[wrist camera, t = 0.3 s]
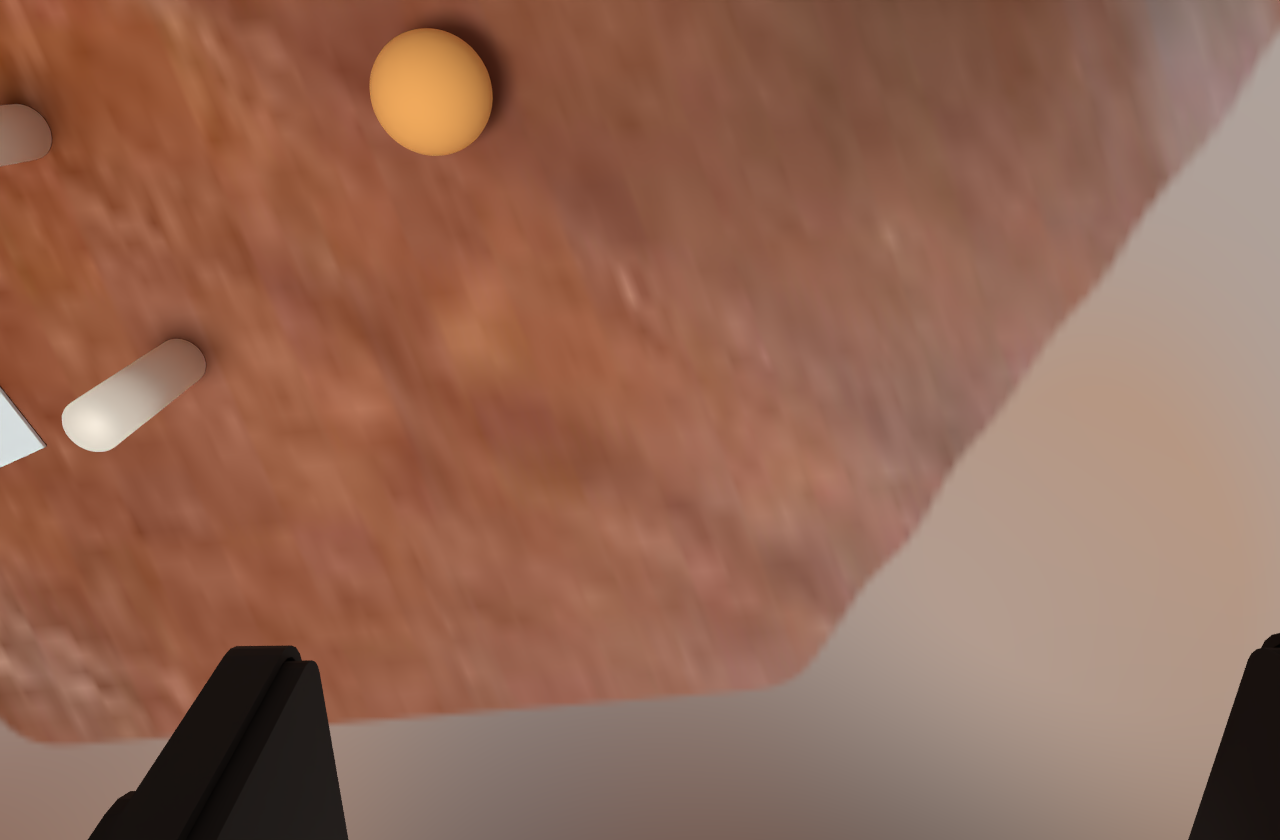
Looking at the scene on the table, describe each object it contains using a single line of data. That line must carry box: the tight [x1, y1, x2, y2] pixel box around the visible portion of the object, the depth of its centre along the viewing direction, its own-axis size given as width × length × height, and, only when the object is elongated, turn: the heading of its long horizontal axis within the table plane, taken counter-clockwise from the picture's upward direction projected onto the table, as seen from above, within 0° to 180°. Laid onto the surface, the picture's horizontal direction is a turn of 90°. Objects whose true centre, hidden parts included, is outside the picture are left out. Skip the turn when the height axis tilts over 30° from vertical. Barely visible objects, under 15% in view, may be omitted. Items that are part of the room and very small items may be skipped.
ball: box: [370, 28, 493, 156], centre depth 36 cm, size 5×5×5 cm
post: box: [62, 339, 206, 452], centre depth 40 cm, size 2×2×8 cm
